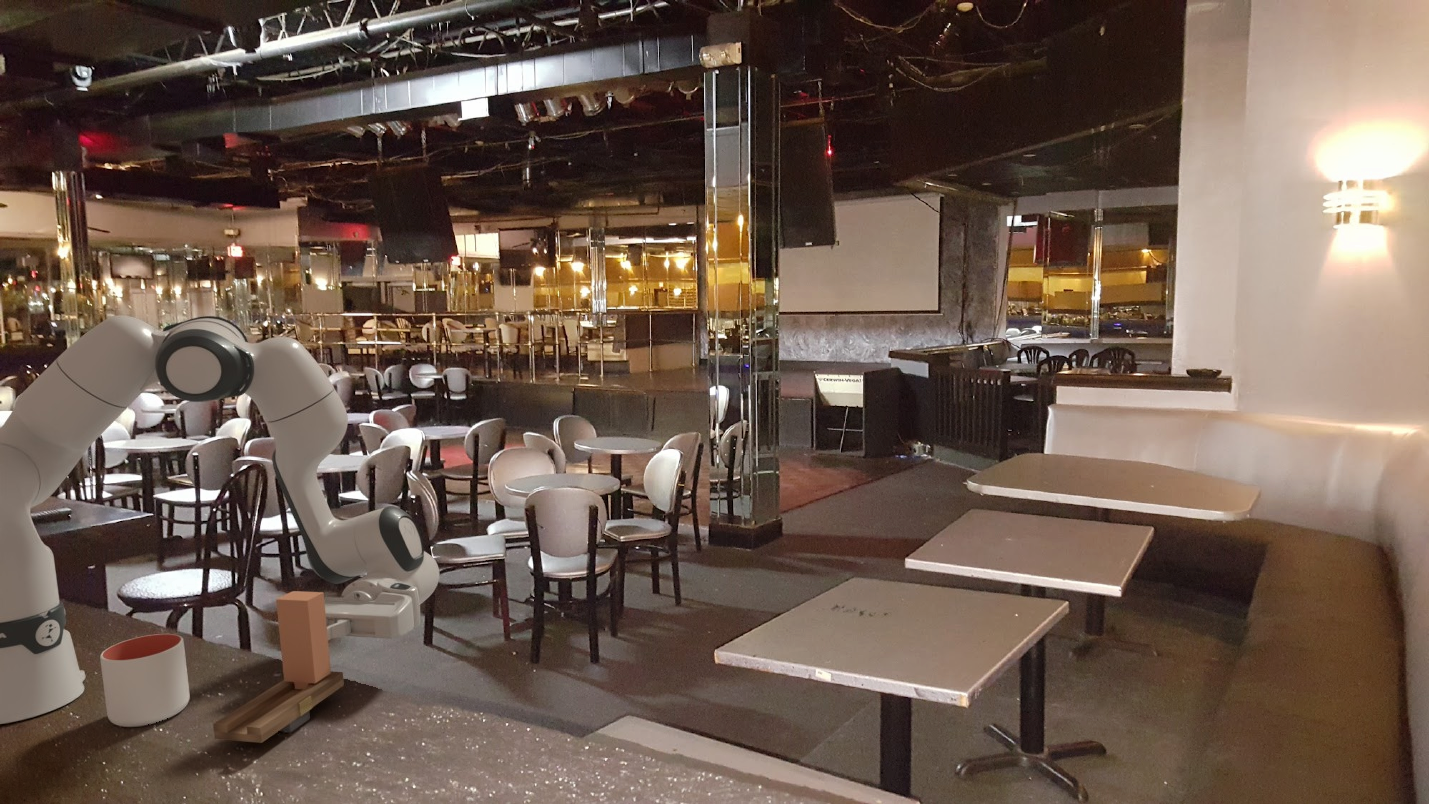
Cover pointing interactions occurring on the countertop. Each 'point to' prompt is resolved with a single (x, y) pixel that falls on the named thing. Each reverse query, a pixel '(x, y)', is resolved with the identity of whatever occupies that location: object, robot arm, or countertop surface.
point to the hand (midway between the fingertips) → (314, 636)
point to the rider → (303, 637)
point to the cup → (145, 679)
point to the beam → (276, 710)
